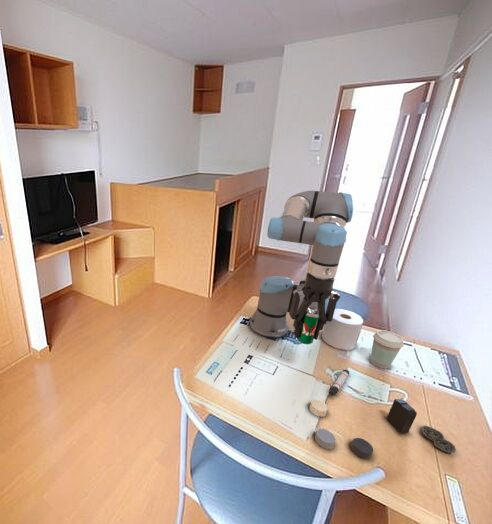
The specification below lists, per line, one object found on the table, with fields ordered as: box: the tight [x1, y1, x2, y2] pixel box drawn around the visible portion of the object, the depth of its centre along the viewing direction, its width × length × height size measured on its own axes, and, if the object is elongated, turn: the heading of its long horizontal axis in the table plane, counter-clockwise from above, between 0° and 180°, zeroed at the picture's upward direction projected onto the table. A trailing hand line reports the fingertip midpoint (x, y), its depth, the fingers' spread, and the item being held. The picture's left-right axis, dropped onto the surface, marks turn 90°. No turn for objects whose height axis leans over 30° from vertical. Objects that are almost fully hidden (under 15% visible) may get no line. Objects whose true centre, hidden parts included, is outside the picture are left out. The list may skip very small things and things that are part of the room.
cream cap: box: [309, 399, 329, 418], centre depth 91 cm, size 4×4×2 cm
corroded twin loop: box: [421, 425, 456, 454], centre depth 82 cm, size 5×8×1 cm, turn 3°
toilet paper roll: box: [321, 308, 364, 351], centre depth 121 cm, size 12×12×12 cm
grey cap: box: [314, 428, 336, 450], centre depth 82 cm, size 4×4×2 cm
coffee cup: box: [369, 329, 404, 370], centre depth 109 cm, size 8×8×12 cm
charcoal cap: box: [350, 437, 374, 460], centre depth 79 cm, size 4×4×2 cm
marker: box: [329, 369, 350, 396], centre depth 101 cm, size 15×2×2 cm, turn 132°
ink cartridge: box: [386, 398, 418, 434], centre depth 85 cm, size 5×2×8 cm, turn 2°
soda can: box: [296, 307, 320, 345], centre depth 101 cm, size 5×5×12 cm
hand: (305, 336), depth 103 cm, fingers closed on soda can, 5 cm apart
